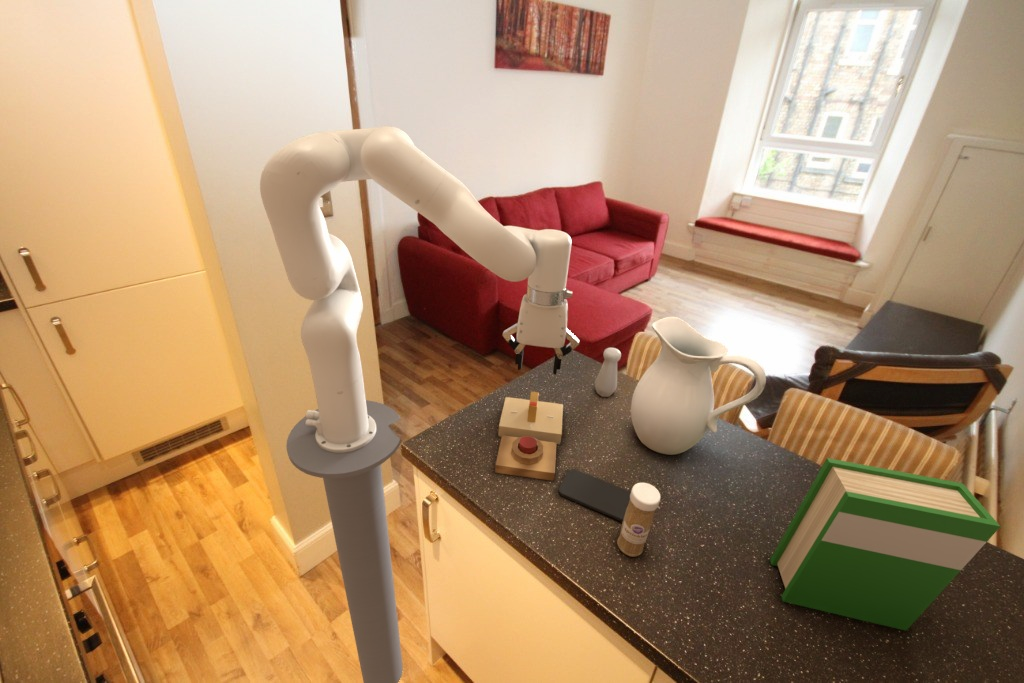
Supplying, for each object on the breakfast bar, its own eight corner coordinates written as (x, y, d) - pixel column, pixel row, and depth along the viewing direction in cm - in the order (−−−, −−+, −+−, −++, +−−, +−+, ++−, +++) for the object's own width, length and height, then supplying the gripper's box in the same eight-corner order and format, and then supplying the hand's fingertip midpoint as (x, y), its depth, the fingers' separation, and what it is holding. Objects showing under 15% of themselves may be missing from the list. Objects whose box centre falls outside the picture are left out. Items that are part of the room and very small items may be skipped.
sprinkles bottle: (619, 557, 76) (635, 502, 69) (614, 534, 80) (629, 480, 73) (646, 558, 76) (664, 504, 69) (639, 535, 80) (656, 481, 73)
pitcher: (610, 433, 104) (634, 328, 90) (650, 406, 114) (677, 308, 100) (705, 497, 89) (752, 382, 75) (742, 460, 99) (789, 353, 85)
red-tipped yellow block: (529, 406, 106) (531, 390, 103) (537, 407, 106) (538, 391, 103) (527, 421, 101) (529, 404, 99) (535, 422, 101) (537, 405, 98)
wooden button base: (494, 472, 91) (495, 458, 89) (501, 442, 99) (502, 428, 97) (553, 481, 90) (555, 466, 88) (555, 450, 98) (557, 436, 96)
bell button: (518, 453, 91) (518, 446, 90) (519, 441, 94) (520, 434, 93) (535, 455, 91) (536, 449, 90) (536, 443, 94) (537, 437, 93)
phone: (570, 467, 92) (642, 496, 87) (569, 470, 93) (641, 499, 87) (556, 491, 86) (633, 524, 81) (556, 494, 87) (632, 527, 81)
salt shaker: (592, 396, 116) (600, 353, 110) (593, 384, 121) (601, 342, 115) (614, 400, 115) (624, 358, 109) (615, 388, 120) (624, 346, 114)
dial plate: (498, 436, 100) (498, 425, 99) (504, 406, 110) (505, 396, 108) (560, 444, 99) (561, 433, 98) (561, 414, 109) (563, 403, 107)
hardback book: (783, 601, 71) (848, 496, 59) (770, 560, 77) (826, 457, 66) (906, 630, 68) (1000, 526, 56) (882, 585, 75) (962, 483, 63)
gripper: (589, 291, 91) (577, 364, 100) (505, 282, 92) (500, 355, 101) (590, 306, 84) (577, 383, 93) (499, 296, 86) (495, 373, 94)
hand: (537, 368), depth 97 cm, fingers open, 7 cm apart
